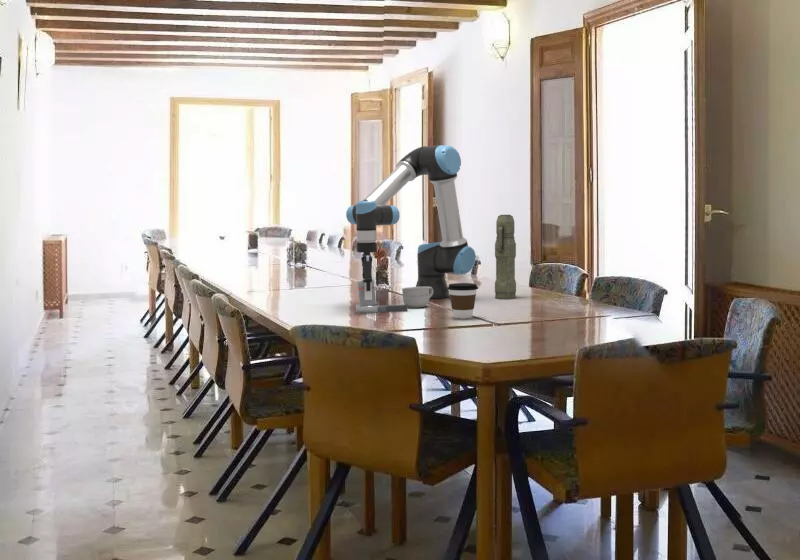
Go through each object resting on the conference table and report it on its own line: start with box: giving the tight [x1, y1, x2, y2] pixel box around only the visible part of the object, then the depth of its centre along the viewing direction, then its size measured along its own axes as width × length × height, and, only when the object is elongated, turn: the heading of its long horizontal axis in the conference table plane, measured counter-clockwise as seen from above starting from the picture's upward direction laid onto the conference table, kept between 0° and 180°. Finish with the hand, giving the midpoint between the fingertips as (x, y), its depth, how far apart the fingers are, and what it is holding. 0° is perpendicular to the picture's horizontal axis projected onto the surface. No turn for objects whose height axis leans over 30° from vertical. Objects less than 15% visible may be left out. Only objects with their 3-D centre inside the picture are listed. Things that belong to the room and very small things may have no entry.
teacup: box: [401, 286, 433, 309], centre depth 371 cm, size 14×11×8 cm
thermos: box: [494, 214, 517, 300], centre depth 396 cm, size 9×12×35 cm
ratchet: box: [355, 303, 408, 314], centre depth 359 cm, size 20×9×8 cm, turn 95°
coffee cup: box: [447, 282, 479, 320], centre depth 338 cm, size 11×11×12 cm
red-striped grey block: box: [357, 279, 377, 306], centre depth 358 cm, size 6×6×9 cm
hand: (367, 297), depth 358 cm, fingers open, 13 cm apart
